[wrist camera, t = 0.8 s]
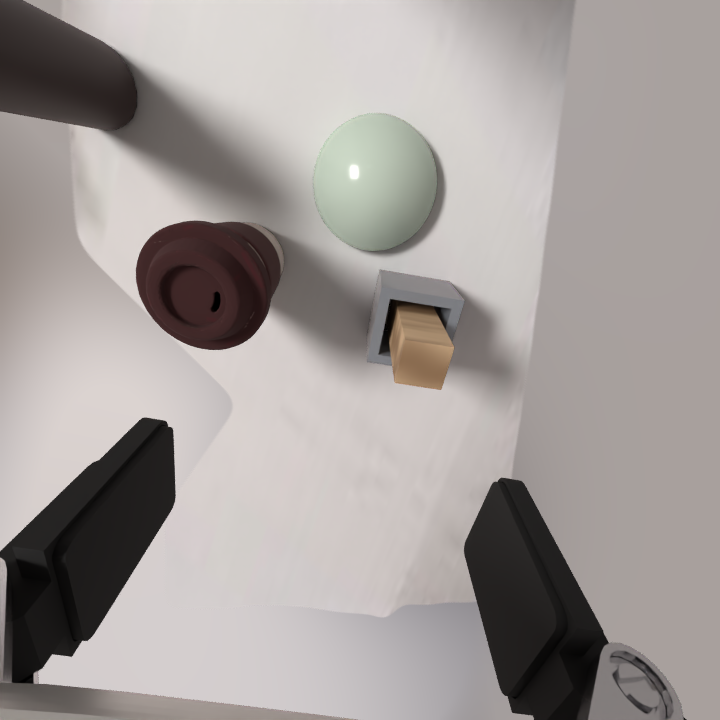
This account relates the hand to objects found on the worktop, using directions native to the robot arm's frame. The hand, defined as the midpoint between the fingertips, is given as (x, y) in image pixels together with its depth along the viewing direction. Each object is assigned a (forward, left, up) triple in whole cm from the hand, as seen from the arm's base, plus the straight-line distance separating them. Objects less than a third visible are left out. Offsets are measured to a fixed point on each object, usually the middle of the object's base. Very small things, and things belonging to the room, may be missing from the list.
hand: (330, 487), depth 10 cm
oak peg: (+5, +7, -32) cm, 33 cm away
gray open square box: (+5, +7, -32) cm, 33 cm away
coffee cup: (+2, -11, -32) cm, 34 cm away
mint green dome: (-7, +1, -32) cm, 33 cm away
